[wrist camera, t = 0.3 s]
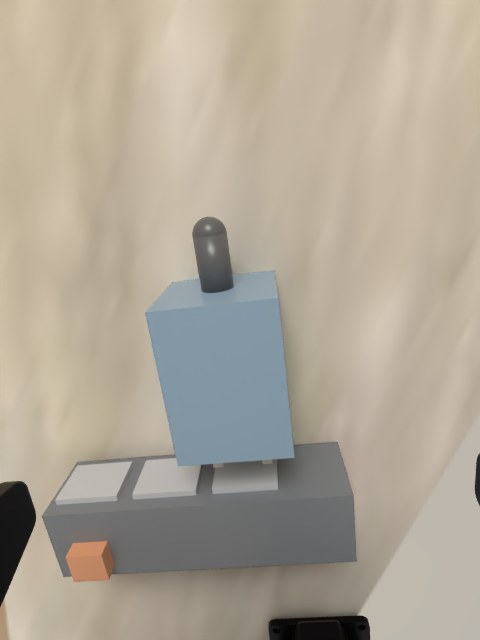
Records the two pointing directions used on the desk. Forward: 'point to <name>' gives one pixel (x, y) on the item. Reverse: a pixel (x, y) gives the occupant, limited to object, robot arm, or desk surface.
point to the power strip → (202, 514)
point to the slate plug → (222, 360)
